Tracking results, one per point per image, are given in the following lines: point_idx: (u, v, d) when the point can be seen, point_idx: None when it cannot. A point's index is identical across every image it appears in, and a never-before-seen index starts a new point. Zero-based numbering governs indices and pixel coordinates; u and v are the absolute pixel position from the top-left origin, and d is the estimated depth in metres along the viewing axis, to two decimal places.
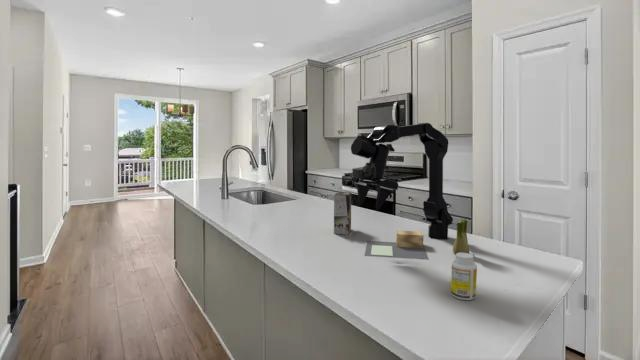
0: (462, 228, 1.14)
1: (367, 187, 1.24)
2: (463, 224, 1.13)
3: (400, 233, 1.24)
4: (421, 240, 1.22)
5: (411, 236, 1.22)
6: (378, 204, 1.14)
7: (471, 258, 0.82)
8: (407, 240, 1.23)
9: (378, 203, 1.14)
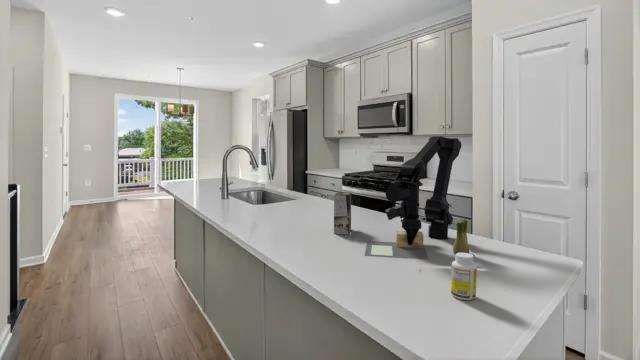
0: (462, 228, 1.14)
1: None
2: (463, 224, 1.13)
3: (400, 233, 1.24)
4: (421, 240, 1.22)
5: None
6: (409, 241, 1.22)
7: (471, 258, 0.82)
8: (407, 240, 1.23)
9: (408, 240, 1.22)
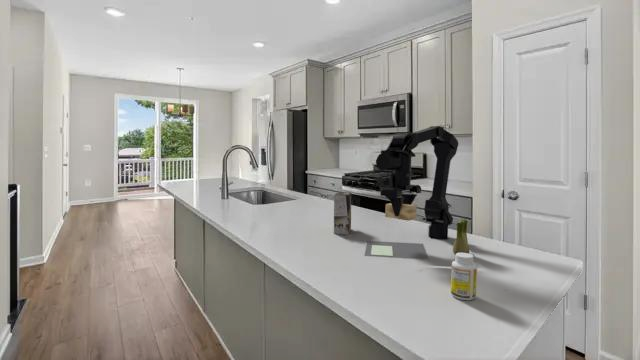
0: (462, 228, 1.14)
1: (410, 196, 1.23)
2: (463, 224, 1.13)
3: (390, 204, 1.23)
4: (407, 212, 1.17)
5: None
6: (394, 211, 1.19)
7: (471, 258, 0.82)
8: None
9: (394, 210, 1.19)
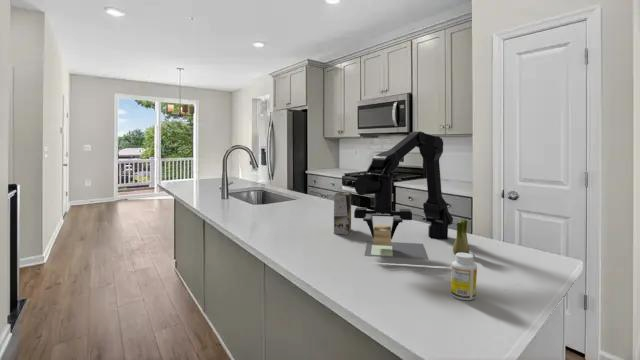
0: (462, 228, 1.14)
1: (393, 221, 1.16)
2: (463, 224, 1.13)
3: (378, 225, 1.22)
4: None
5: (374, 229, 1.18)
6: None
7: (471, 258, 0.82)
8: None
9: None
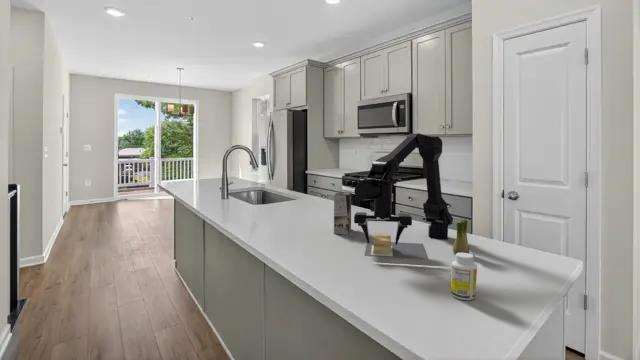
0: (462, 228, 1.14)
1: (398, 226, 1.15)
2: (463, 224, 1.13)
3: (378, 234, 1.22)
4: None
5: (374, 238, 1.18)
6: None
7: (471, 258, 0.82)
8: None
9: None
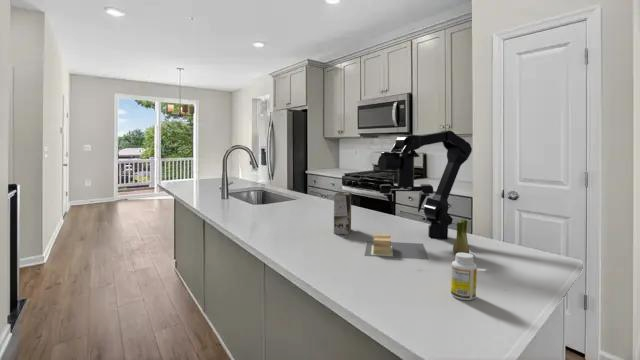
0: (462, 228, 1.14)
1: (420, 195, 1.27)
2: (463, 224, 1.13)
3: (378, 234, 1.22)
4: None
5: (374, 238, 1.18)
6: None
7: (471, 258, 0.82)
8: None
9: None
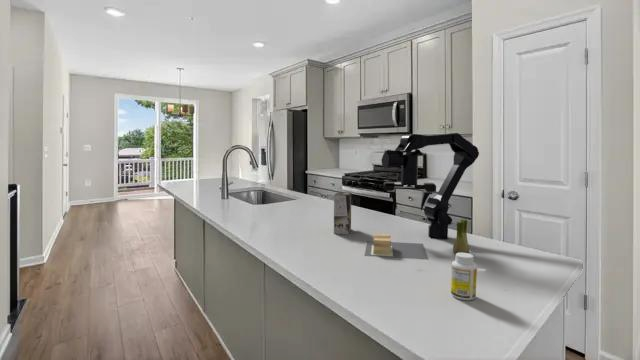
0: (462, 228, 1.14)
1: (423, 193, 1.29)
2: (463, 224, 1.13)
3: (378, 234, 1.22)
4: None
5: (374, 238, 1.18)
6: None
7: (471, 258, 0.82)
8: None
9: None
